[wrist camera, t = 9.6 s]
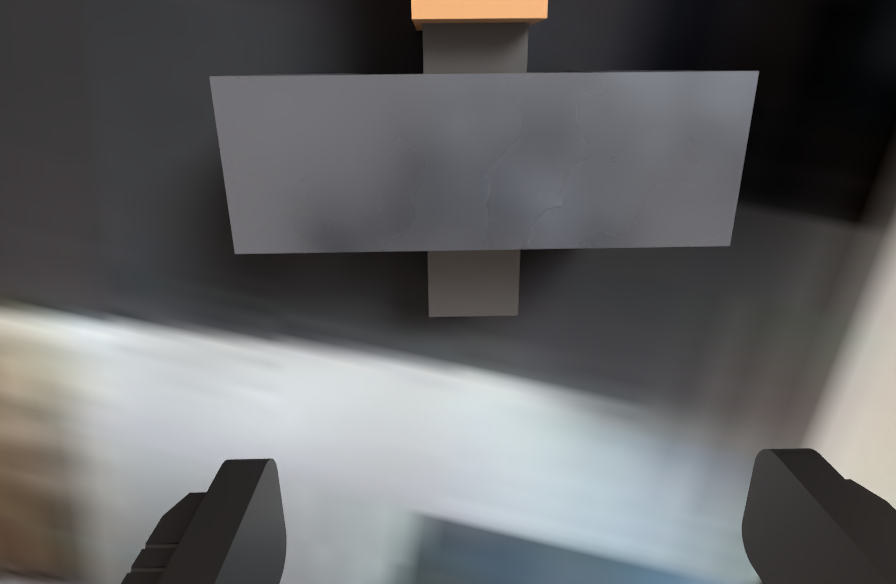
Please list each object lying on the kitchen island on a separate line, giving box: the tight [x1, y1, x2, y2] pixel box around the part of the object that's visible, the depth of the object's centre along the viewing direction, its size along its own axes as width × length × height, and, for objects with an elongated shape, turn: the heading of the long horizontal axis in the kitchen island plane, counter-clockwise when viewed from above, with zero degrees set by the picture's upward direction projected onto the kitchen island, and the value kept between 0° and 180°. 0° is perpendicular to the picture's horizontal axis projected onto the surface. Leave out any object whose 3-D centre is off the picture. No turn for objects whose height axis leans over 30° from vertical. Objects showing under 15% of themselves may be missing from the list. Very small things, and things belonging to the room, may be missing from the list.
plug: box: [411, 0, 548, 317], centre depth 18 cm, size 14×4×5 cm, turn 1°
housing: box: [209, 70, 759, 254], centre depth 17 cm, size 4×12×8 cm, turn 91°
